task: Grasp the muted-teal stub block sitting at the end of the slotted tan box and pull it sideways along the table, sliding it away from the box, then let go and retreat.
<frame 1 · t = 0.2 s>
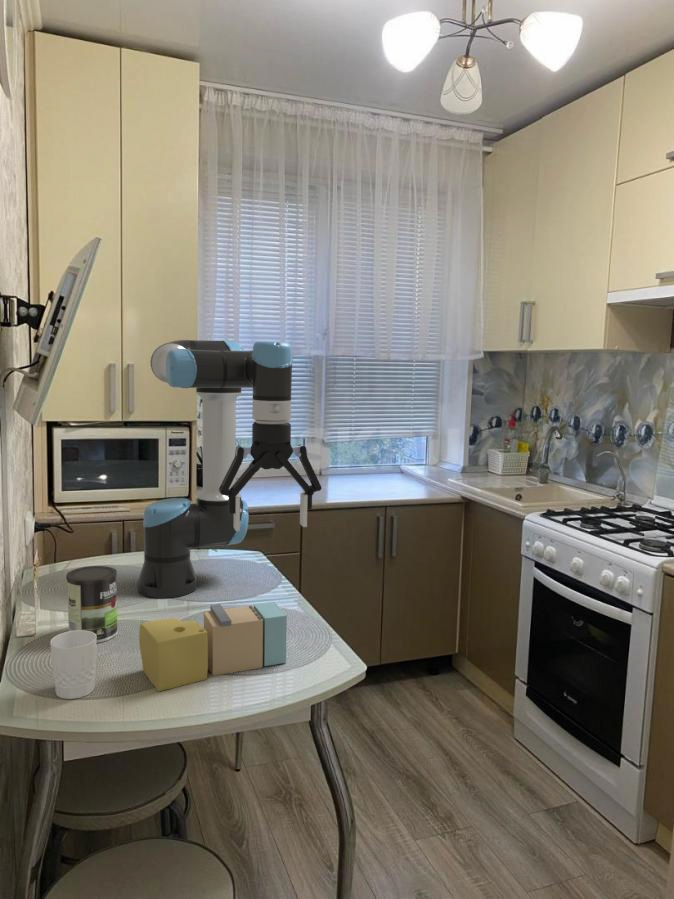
hand: (270, 527, 136), 28 cm above the table, fingers open, 13 cm apart
white cup: (75, 691, 125), on the table
coffee can: (93, 635, 150), on the table
stub: (269, 633, 140), point 5 cm above the table, slide at 0.0 cm
slotted tan box: (232, 662, 138), on the table
cheese: (174, 677, 132), on the table
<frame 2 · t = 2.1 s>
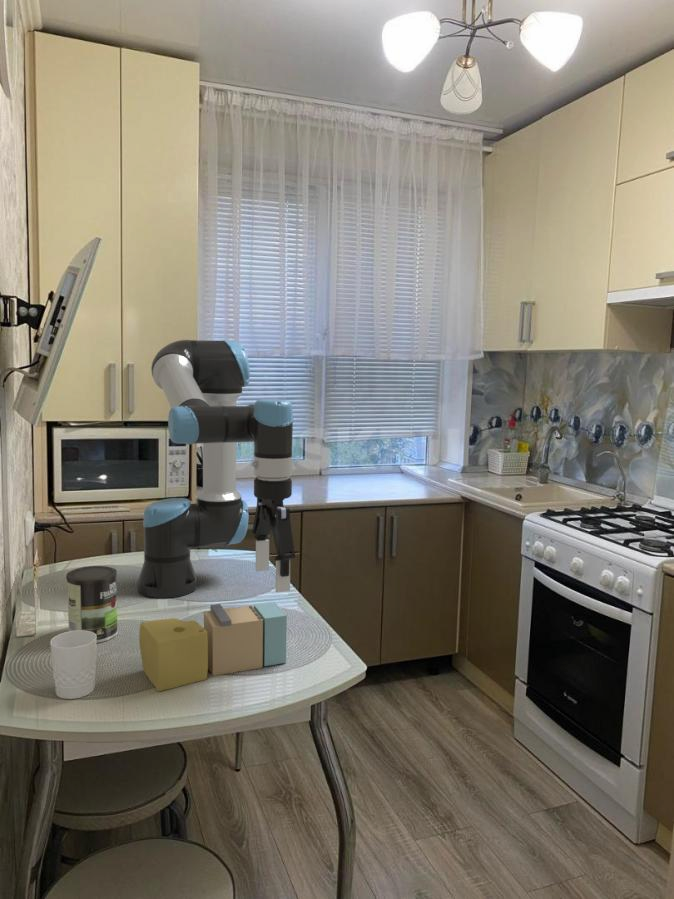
hand: (272, 580, 138), 16 cm above the table, fingers open, 13 cm apart
nothing on the table moved.
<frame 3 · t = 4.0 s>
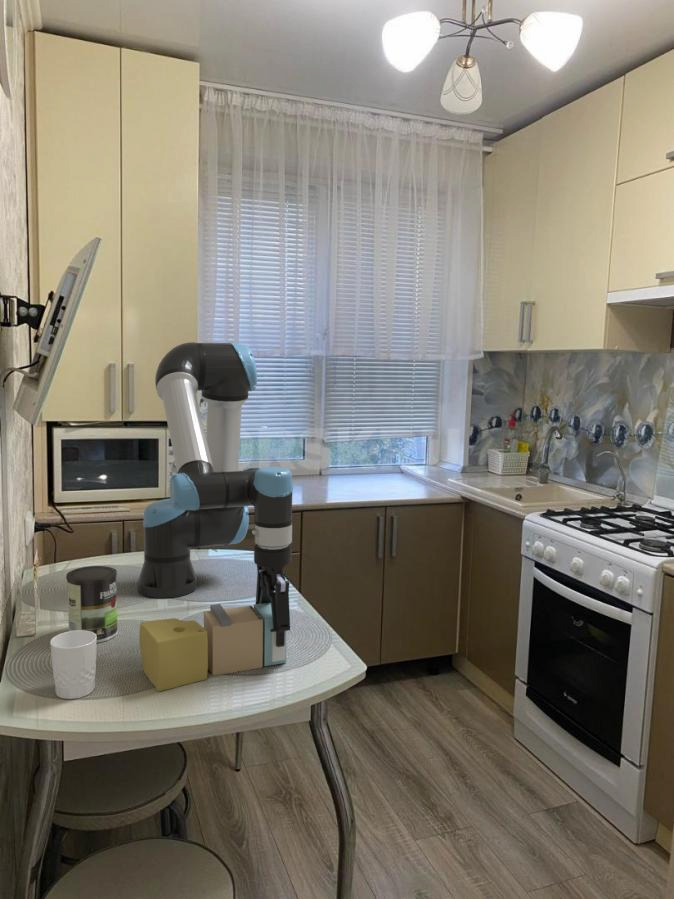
hand: (271, 650, 141), 1 cm above the table, fingers closed on stub, 8 cm apart
stub: (269, 633, 140), point 5 cm above the table, slide at 0.0 cm, touching gripper
everything else where it was.
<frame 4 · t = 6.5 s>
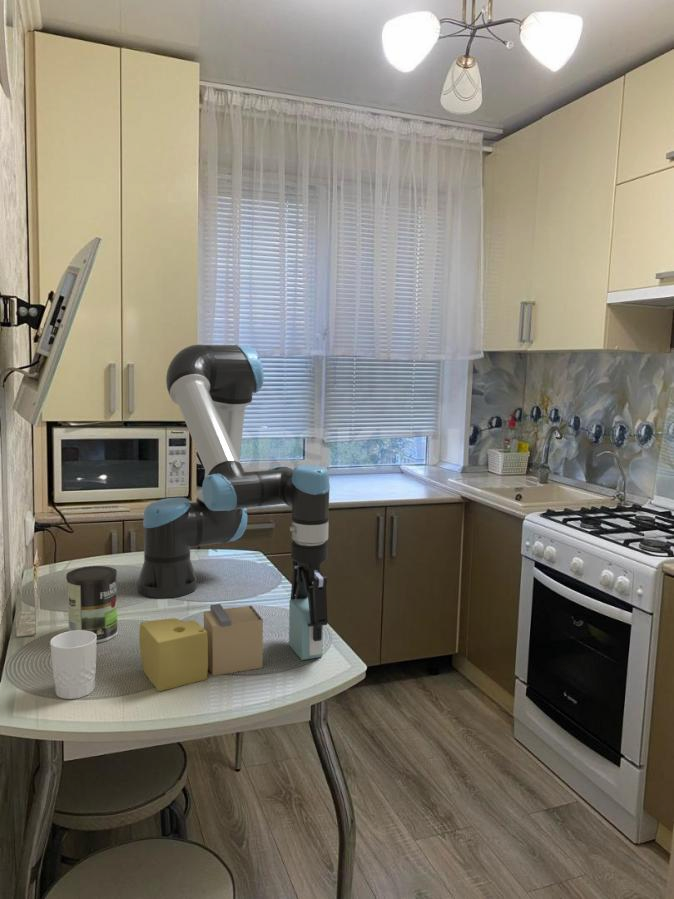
hand: (307, 645, 144), 1 cm above the table, fingers closed on stub, 8 cm apart
stub: (305, 627, 143), point 5 cm above the table, slide at 7.9 cm, touching gripper
everything else where it was.
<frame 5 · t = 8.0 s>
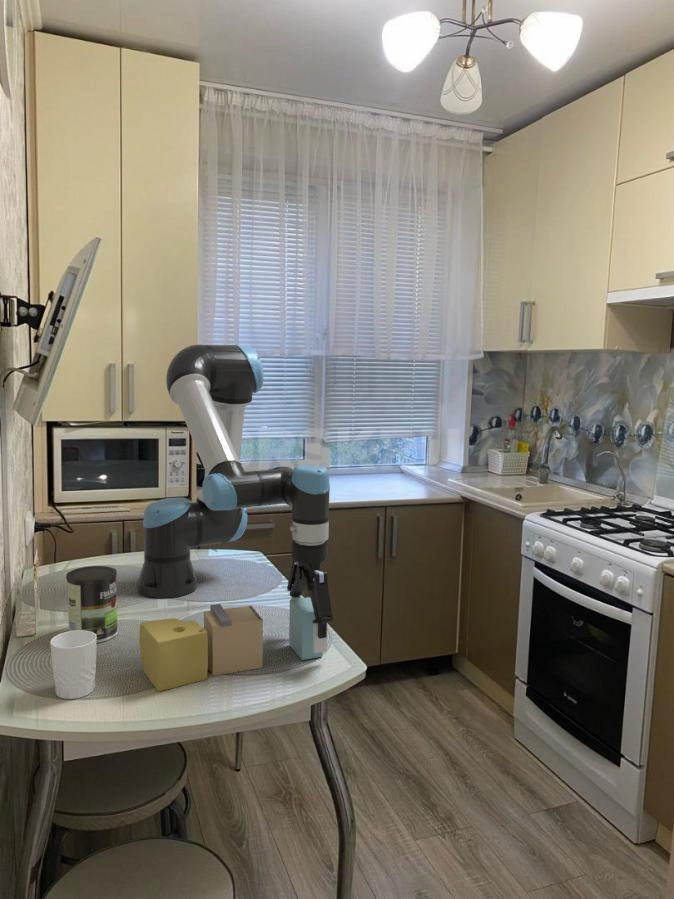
hand: (307, 638, 144), 3 cm above the table, fingers open, 13 cm apart
stub: (305, 627, 143), point 5 cm above the table, slide at 8.0 cm
everything else where it was.
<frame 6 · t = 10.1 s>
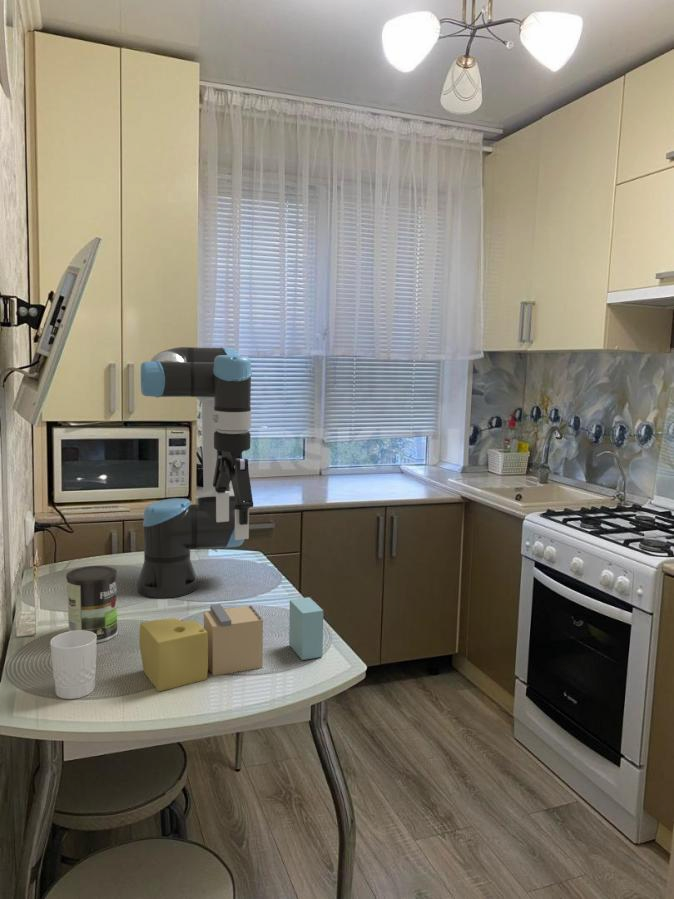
hand: (231, 530, 144), 25 cm above the table, fingers open, 13 cm apart
nothing on the table moved.
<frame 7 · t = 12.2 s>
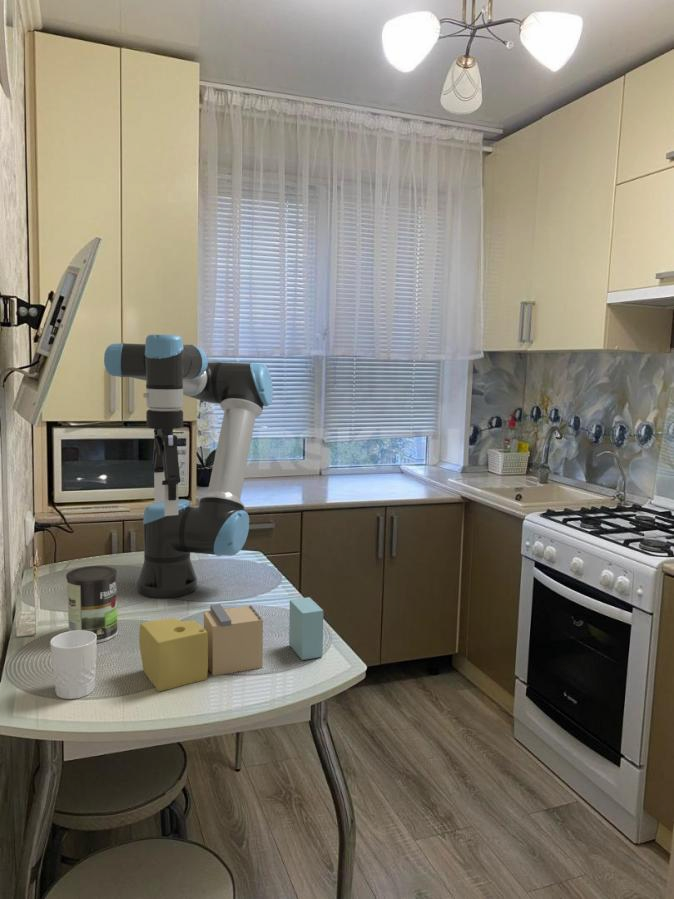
hand: (166, 508, 146), 29 cm above the table, fingers open, 13 cm apart
nothing on the table moved.
at the end: stub slide at 8.0 cm; the gripper is holding nothing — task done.
